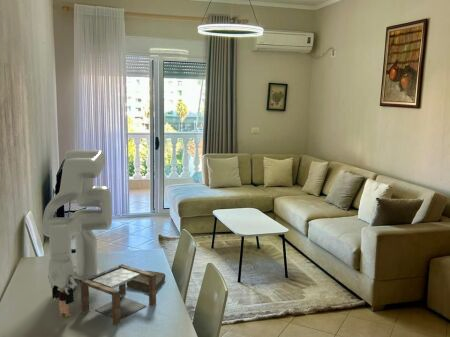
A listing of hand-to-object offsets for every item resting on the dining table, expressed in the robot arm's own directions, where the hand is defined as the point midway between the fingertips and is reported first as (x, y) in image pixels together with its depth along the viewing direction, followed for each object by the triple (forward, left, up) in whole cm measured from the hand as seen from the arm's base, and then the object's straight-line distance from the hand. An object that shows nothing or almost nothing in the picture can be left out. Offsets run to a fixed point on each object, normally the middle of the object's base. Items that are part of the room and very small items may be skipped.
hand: (63, 299), depth 163 cm
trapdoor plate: (+10, +16, +5) cm, 20 cm away
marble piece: (+6, +38, -7) cm, 39 cm away
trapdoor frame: (+13, +16, -6) cm, 22 cm away
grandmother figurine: (0, 0, -6) cm, 6 cm away
